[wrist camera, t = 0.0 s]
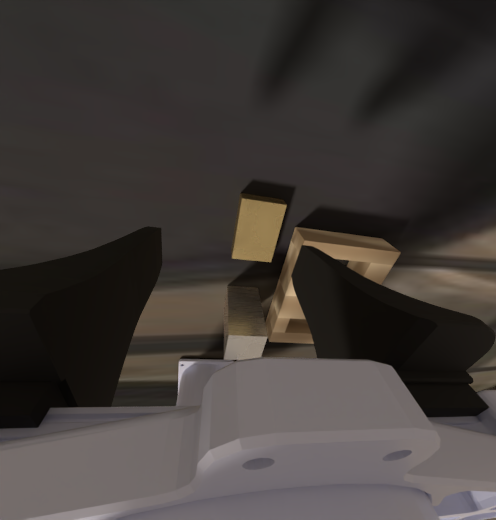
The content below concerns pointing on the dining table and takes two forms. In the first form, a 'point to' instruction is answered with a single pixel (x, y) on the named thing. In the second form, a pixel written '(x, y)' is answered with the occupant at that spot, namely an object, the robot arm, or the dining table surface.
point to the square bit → (243, 324)
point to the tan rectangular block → (257, 227)
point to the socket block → (338, 247)
